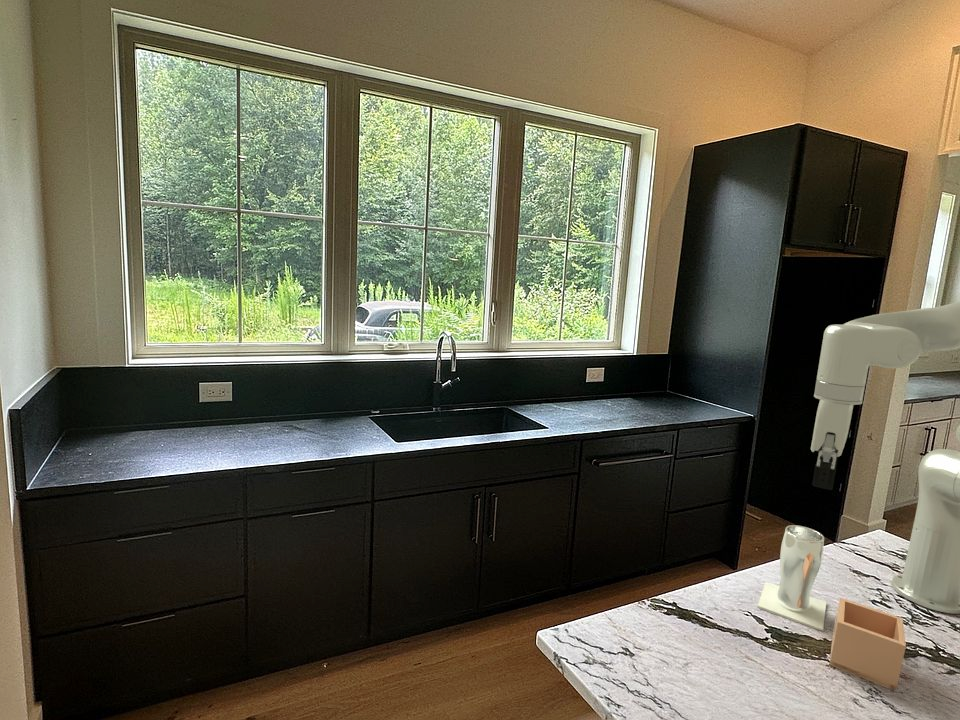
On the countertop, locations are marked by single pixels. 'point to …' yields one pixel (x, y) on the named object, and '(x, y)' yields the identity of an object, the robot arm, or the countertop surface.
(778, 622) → the countertop surface
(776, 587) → the plain cream tile
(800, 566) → the beer glass
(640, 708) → the countertop surface
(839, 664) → the open box
